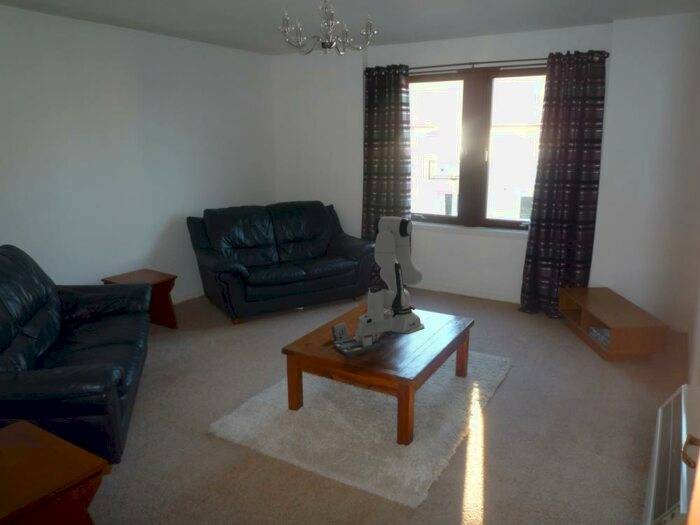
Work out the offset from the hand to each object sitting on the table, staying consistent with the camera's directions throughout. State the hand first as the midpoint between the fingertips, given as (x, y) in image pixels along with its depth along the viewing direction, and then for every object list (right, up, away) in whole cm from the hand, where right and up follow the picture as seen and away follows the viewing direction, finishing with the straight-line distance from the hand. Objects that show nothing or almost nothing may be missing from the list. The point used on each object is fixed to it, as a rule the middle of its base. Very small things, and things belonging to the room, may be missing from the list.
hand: (374, 340), depth 280 cm
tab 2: (-4, -2, -2) cm, 5 cm away
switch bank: (-10, -4, 0) cm, 10 cm away
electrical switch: (-19, -1, +11) cm, 23 cm away
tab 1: (-8, -1, +5) cm, 10 cm away
